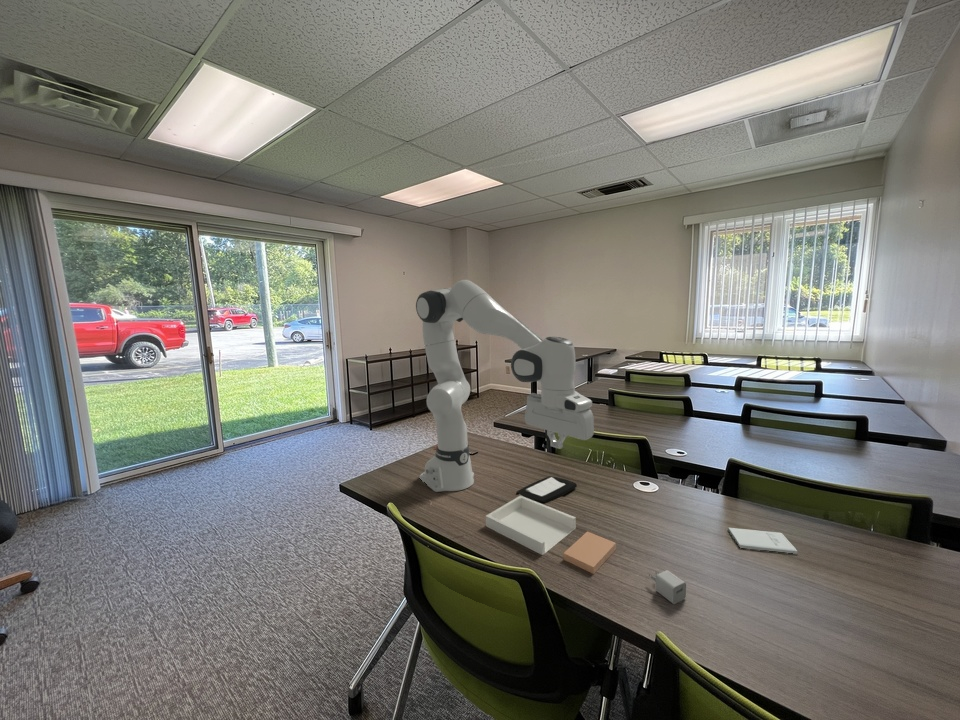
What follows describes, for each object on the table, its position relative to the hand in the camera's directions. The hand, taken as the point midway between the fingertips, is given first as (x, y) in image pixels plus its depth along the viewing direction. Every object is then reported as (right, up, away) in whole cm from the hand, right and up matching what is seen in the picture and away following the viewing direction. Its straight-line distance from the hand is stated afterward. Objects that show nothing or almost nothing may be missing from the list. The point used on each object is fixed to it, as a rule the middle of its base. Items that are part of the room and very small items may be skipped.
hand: (556, 447), depth 103 cm
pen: (-22, -27, +4) cm, 35 cm away
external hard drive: (+52, -24, -5) cm, 58 cm away
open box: (-6, -25, +5) cm, 26 cm away
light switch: (+2, -23, +28) cm, 36 cm away
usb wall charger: (+20, -27, -20) cm, 39 cm away
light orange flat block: (+7, -27, -8) cm, 28 cm away
